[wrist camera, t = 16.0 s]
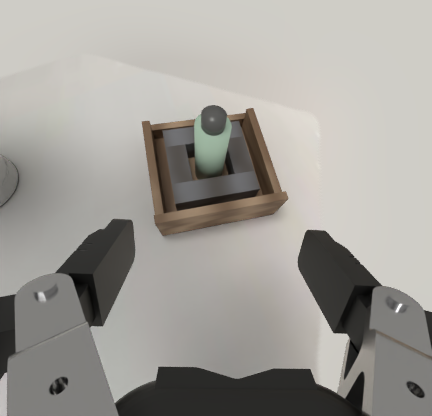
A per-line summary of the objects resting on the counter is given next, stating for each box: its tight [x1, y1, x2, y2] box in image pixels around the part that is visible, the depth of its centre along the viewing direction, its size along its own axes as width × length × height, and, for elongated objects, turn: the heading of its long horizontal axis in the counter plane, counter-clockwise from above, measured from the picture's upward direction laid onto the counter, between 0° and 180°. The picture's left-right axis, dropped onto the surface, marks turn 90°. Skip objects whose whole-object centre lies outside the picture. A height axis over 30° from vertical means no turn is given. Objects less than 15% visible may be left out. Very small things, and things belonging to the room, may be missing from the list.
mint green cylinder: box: [194, 105, 232, 180], centre depth 28 cm, size 4×4×12 cm
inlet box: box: [142, 108, 288, 236], centre depth 32 cm, size 16×16×6 cm
